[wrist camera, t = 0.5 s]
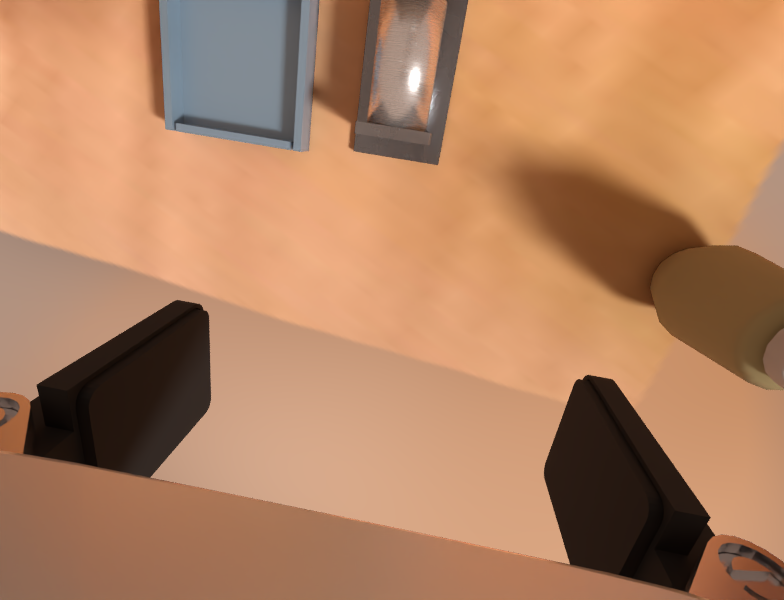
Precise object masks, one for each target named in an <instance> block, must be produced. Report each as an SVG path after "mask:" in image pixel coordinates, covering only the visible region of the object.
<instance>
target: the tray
mask: <svg viewBox="0 0 784 600" xmlns="http://www.w3.org/2000/svg"><path fill="white" fill-rule="evenodd" d="M159 10H160V30H161V50H162V70H163V90H164V110H165V129H167V130H176V131H179V132H185V133H191V134H197V135H203V136H209V137H215V138H221V139H227V140H233V141H239V142H245V143H251V144H257V145H263V146H269V147H275V148H281V149H287V150H293V151H299V152H303V151H309V140H310V126H311V112H312V98H313V84H314V70H315V55H316V41H317V27H318V13H319V0H159Z"/></svg>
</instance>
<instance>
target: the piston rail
mask: <svg viewBox="0 0 784 600" xmlns="http://www.w3.org/2000/svg"><path fill="white" fill-rule="evenodd" d="M446 1H447V3H448V4H447V10H446V16H445V22H444V28H443V34H442V40H441V46H440V52H439V58H438V64H437V70H436V76H435V82H434V88H433V94H432V99H431V105H430V111H429V117H428V123H427V129H426V132H428V133H432V137H431V143H430V145H423V144H417V143H411V142H405V141H399V140H393V139H387V138H380V137H374V136H368V135H362V134H356V135H355V144H354V151H356V152H362V153H368V154H374V155H380V156H386V157H392V158H398V159H404V160H410V161H417V162H423V163H429V164H435V165H438V163H439V157H440V152H441V146H442V141H443V135H444V130H445V124H446V119H447V113H448V108H449V102H450V97H451V91H452V86H453V80H454V75H455V70H456V64H457V59H458V53H459V48H460V42H461V37H462V31H463V26H464V20H465V15H466V9H467V4H468V0H446ZM380 6H381V0H370V6H369V16H368V25H367V34H366V43H365V52H364V61H363V71H362V80H361V89H360V98H359V107H358V116H357V121H360V122H366V123H367V117H368V108H369V100H370V91H371V83H372V74H373V66H374V57H375V49H376V40H377V32H378V23H379V15H380Z"/></svg>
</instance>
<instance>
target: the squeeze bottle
mask: <svg viewBox="0 0 784 600" xmlns="http://www.w3.org/2000/svg"><path fill="white" fill-rule="evenodd" d="M650 290H651V294H652V298H653V301H654V305H655V308H656V312H657V315H658V319H659V322H660V323H661V324H662V325H663V326H664V327H665V329H666V330H667V331H668V332H669V333H670V334H671V335H672V336H674V337H676V338H677V339H679V340H680V341H682V342H684V343H685V344H687V345H689V346H690V347H692V348H694V349H695V350H697V351H698V352H700V353H701V354H703V355H705V356H707V357H708V358H709V359H711V360H713V361H715V362H716V363H718V364H719V365H721V366H722V367H724V368H726V369H727V370H729V371H730V372H732V373H734V374H735V375H737V376H739V377H740V378H742V379H743V380H745V381H747V382H748V383H751V384H753V385H756V386H759V387H761V388H763V389H766V390H784V268H782V267H780V266H778V265H776V264H774V263H773V262H771V261H769V260H767V259H765V258H763V257H761V256H760V255H758V254H756V253H754V252H751V251H749V250H746V249H744V248H741V247H739V246H706V247H697V248H688V249H685V250H682V251H680V252H677V253H674V254H672V255H671V256H669V257H668V258H667V259H665V260H664V261H663V262H662V263H660V265H659V266H658V268H657V269H656V271H655V272H654V274H653V276H652V281H651V286H650Z"/></svg>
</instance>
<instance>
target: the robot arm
mask: <svg viewBox="0 0 784 600" xmlns="http://www.w3.org/2000/svg"><path fill="white" fill-rule="evenodd" d="M210 385H211V383H210V340H209V315H208V312H207V311H204V310H203V307H202V306H201V305H200V304H196V303H190V302H185V301H180V300H176V301H174V302H172V303H170V304H169V305H167V306H165V307H164V308H162V309H161V310H159V311H157V312H156V313H154V314H152V315H151V316H149V317H147V318H146V319H144V320H142V321H141V322H139V323H137V324H136V325H134V326H133V327H131V328H129V329H128V330H126V331H124V332H123V333H121V334H119V335H118V336H116V337H115V338H113V339H111V340H110V341H108V342H106V343H105V344H103V345H101V346H100V347H98V348H96V349H95V350H93V351H91V352H90V353H88V354H86V355H85V356H83V357H81V358H80V359H78V360H77V361H75V362H73V363H72V364H70V365H68V366H67V367H65V368H63V369H62V370H60V371H59V372H57V373H55V374H53V375H52V376H50V377H49V378H47V379H45V380H44V381H42V382H40V383H39V384H37V389H38V393H39V396H38V397H37V398H35V399H34V400H32V401H31V402H29V400H28V399H27V398H26V397H24V396H23V395H19V394H16V393H6V392H0V600H784V562H783V561H781V560H780V559H779V558H777V557H776V556H774V555H773V554H771V553H769V552H768V551H767V550H765V549H763V548H761V547H759V546H757V545H755V544H753V543H752V542H750V541H747V540H744V539H741V538H738V537H735V536H729V535H718V536H715V535H714V533H713V532H712V530H711V529H710V527H709V526H708V525H707V523H708V521H709V519H710V516H709V515H708V513H707V512H706V510H705V509H704V507H703V506H702V505H701V503H700V502H699V500H698V499H697V498H696V496H695V495H694V493H693V492H692V490H691V489H690V488H689V486H688V485H687V483H686V482H685V481H684V479H683V478H682V476H681V475H680V473H679V472H678V471H677V469H676V468H675V466H674V465H673V463H672V462H671V461H670V459H669V458H668V456H667V455H666V454H665V452H664V451H663V449H662V448H661V447H660V445H659V444H658V442H657V441H656V439H655V438H654V437H653V435H652V434H651V432H650V431H649V429H648V428H647V427H646V425H645V424H644V423H643V421H642V420H641V418H640V417H639V416H638V414H637V412H636V411H635V410H634V408H633V407H632V405H631V404H630V403H629V401H628V400H627V398H626V397H625V395H624V394H623V393H622V391H621V390H620V388H619V387H618V386H617V384H616V383H615V381H614V380H612V379H607V378H602V377H596V376H591V375H587V376H585V377H584V378H583V380H581V379H578V380H577V381H576V382H575V384H574V386H573V389H572V391H571V394H570V397H569V400H568V402H567V405H566V408H565V411H564V414H563V416H562V419H561V422H560V424H559V428H558V430H557V433H556V436H555V438H554V441H553V444H552V446H551V449H550V452H549V455H548V458H547V460H546V463H545V468H544V478H545V482H546V485H547V488H548V492H549V495H550V499H551V502H552V505H553V508H554V511H555V515H556V518H557V522H558V525H559V529H560V532H561V535H562V539H563V542H564V545H565V549H566V552H567V555H568V559H569V562H570V564H565V563H560V562H555V561H550V560H546V559H541V558H537V557H532V556H527V555H522V554H518V553H513V552H509V551H504V550H499V549H494V548H490V547H485V546H480V545H475V544H471V543H466V542H461V541H457V540H451V539H447V538H442V537H437V536H432V535H427V534H423V533H418V532H413V531H408V530H404V529H399V528H394V527H389V526H385V525H380V524H374V523H370V522H365V521H360V520H356V519H351V518H345V517H341V516H336V515H331V514H327V513H322V512H317V511H312V510H307V509H302V508H297V507H292V506H287V505H282V504H278V503H273V502H268V501H263V500H258V499H253V498H248V497H244V496H238V495H233V494H229V493H224V492H219V491H214V490H209V489H204V488H199V487H194V486H189V485H184V484H179V483H174V482H169V481H164V480H159V479H154V478H150V477H151V476H152V475H153V473H154V472H155V471H156V470H157V469H158V468H159V467H160V465H161V464H162V463H163V462H164V461H165V459H166V458H167V457H168V456H169V455H170V454H171V453H172V451H173V450H174V449H175V448H176V447H177V446H178V444H179V443H180V442H181V441H182V440H183V439H184V437H185V436H186V435H187V434H188V433H189V432H190V431H191V429H192V428H193V427H194V426H195V425H196V423H197V422H198V421H199V420H200V419H201V418H202V417H203V416H204V414H205V413H206V412H207V410H208V408H209V405H210V401H211V386H210Z"/></svg>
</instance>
